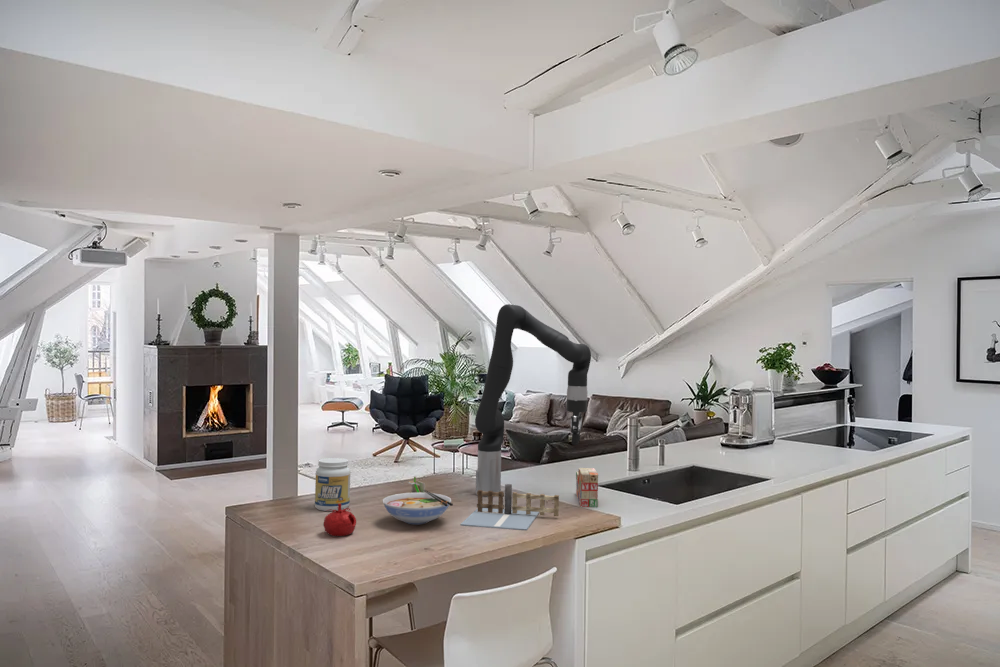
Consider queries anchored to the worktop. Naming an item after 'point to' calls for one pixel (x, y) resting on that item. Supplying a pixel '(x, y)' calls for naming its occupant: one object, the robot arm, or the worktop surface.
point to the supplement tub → (332, 484)
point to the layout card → (500, 519)
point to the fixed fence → (500, 501)
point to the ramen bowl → (417, 506)
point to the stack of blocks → (587, 487)
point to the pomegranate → (339, 522)
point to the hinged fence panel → (535, 509)
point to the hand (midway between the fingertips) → (575, 442)
